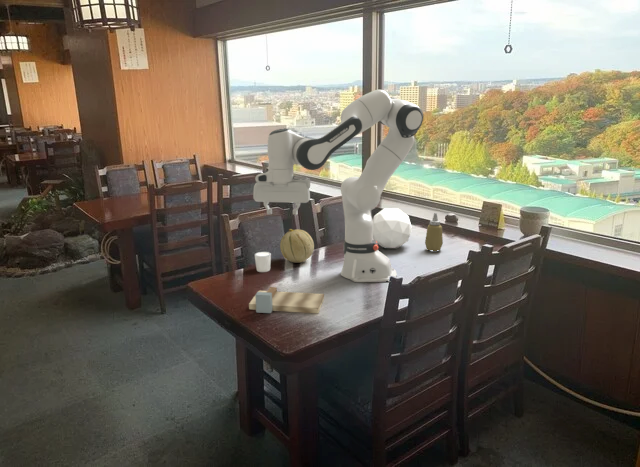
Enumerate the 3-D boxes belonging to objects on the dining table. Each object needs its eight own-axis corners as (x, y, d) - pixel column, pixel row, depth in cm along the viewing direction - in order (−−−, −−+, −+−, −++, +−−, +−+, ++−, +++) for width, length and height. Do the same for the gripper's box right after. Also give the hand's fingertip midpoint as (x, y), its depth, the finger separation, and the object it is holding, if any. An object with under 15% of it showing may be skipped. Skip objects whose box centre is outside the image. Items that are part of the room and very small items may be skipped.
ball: (384, 257, 238) (384, 220, 245) (420, 250, 225) (419, 211, 232) (361, 246, 224) (362, 207, 232) (398, 237, 212) (397, 196, 219)
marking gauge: (280, 297, 173) (280, 280, 171) (270, 313, 160) (270, 295, 158) (267, 296, 174) (266, 279, 172) (256, 312, 161) (255, 294, 159)
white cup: (268, 273, 198) (268, 257, 196) (253, 272, 200) (252, 256, 198) (273, 267, 205) (273, 251, 203) (258, 266, 206) (257, 251, 204)
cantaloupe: (318, 265, 207) (317, 231, 203) (284, 268, 203) (283, 234, 199) (308, 255, 220) (308, 223, 216) (277, 258, 216) (276, 226, 212)
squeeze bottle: (444, 249, 226) (447, 212, 221) (438, 254, 219) (441, 215, 215) (428, 247, 230) (430, 210, 225) (422, 251, 224) (423, 213, 219)
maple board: (323, 299, 172) (323, 293, 171) (318, 313, 160) (318, 307, 160) (259, 295, 176) (258, 290, 175) (249, 309, 164) (248, 303, 164)
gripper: (311, 175, 171) (312, 213, 174) (256, 174, 174) (257, 211, 178) (308, 177, 165) (309, 217, 168) (250, 176, 168) (252, 215, 172)
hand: (282, 214), depth 173 cm, fingers open, 8 cm apart
